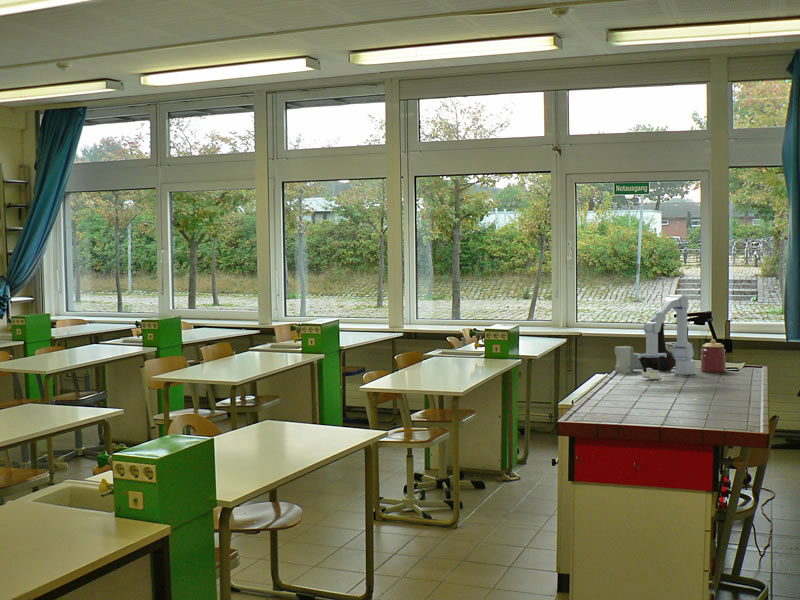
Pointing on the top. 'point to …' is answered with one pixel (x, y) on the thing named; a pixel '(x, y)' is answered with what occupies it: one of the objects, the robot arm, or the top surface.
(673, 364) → the glass bottle
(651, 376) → the slider
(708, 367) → the canister
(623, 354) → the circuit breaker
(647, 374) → the slider
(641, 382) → the top surface
